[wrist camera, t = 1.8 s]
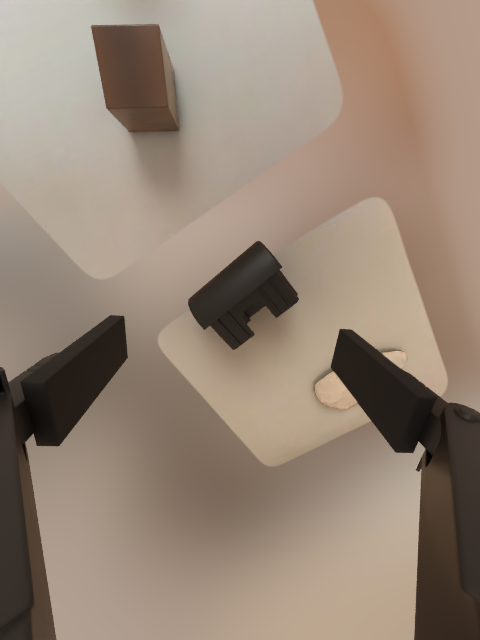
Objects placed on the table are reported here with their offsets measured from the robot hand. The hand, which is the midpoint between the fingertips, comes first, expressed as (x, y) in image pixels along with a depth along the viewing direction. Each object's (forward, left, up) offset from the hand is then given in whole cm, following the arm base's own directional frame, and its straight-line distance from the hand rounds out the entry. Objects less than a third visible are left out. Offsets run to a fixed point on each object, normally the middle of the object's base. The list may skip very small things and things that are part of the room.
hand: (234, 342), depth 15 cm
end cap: (-1, 0, -16) cm, 17 cm away
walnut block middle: (+7, -19, -16) cm, 26 cm away
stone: (-18, +14, -16) cm, 29 cm away
